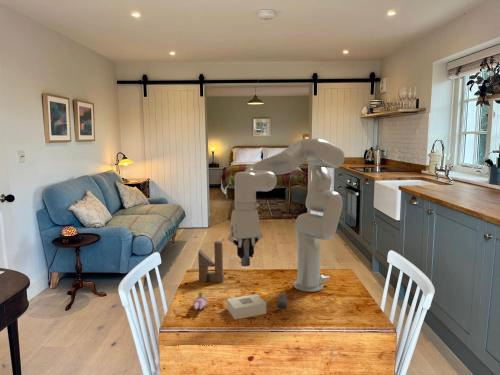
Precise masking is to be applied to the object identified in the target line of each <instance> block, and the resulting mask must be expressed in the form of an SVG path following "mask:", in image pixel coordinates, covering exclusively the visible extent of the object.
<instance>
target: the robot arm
mask: <svg viewBox="0 0 500 375" xmlns="http://www.w3.org/2000/svg"><path fill="white" fill-rule="evenodd" d="M344 161H345V153H344V151H343V149H341V147H338V146H337V145H335V144H333V143H331V142H329V141H327V140H325V139H322V138H302V139H299V140H296V141H295V142H294V143H292V144H291V145H289V146H288V147H287V148H285V149H283V150H282V151H281V152H279V153H277V154H274V155H272V156H269V157H266V158H265V159H261V160H259V161H257V162H255V163H253V164H252V165H250V167H248V168H246V169H245V171H238V172H236V173H235V174H234V209H233V210H232V212H231V217H230V226H229V228H230V229H229V230H230V231H229V232H230V233H229V235H228V237H227V241H228V242H230V243H232V244H234V245H235V246H236V255H237V257H238V258H239V259H240V260H241V259H242V258H243V248H242V239H247V238H250V258H253V257H254V254H255V246H256V244H257V243H258V241H260V240H262V239H263V237H264V235H263V233H262V231H261V225H260V224H261V223H260V216H259V212H258V209H257V207H260V202H257V192H270V191H272V190H273V189H274V188H275V187H276V186H277V183H278V179H277V176H278V175H284V174H288V173H292V172H293V171H294V170H296V169H297V168H298V167H300V166H301V165H302V164H303V163H305V162H307V164H308V166H309V169H310V172H311V180H310V184H309V188H308V191H307V195H306V199H305V207H306V209H307V210H310V211H312V212H316V213H320V214H322V215H319V214H314V213H309V212H308V213H307V212H306V213H301V214H300V215H298V216H297V218H296V220H295V224H294V226H295V228H294V229H295V232H296V238H297V266H296V267H297V270H296V271H297V275H296V276H297V279H296V280H295V281H294V282H293V287H294V289H296V290H299V291H301V292H309V293H311V292H312V293H314V292H319V291H321V290H323V288H324V282H325V281H327V282H328V281H330V280H331V277H330V275H325V276H324V274H321V244H320V240H322V241H329V240H331V239H333V237H334V236H335V234H336V232H337V228H338V225H339V222H340V219H341V218H340V217H341V214H342V211H343V205H344V204H343V197H342V195H341V194H340V193H339V192H338V191H334V190H331V185H332V179H333V178H332V176H331V173H330V171H329V169H338V168H340V167H342V165H344Z"/></svg>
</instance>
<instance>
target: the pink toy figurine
mask: <svg viewBox="0 0 500 375" xmlns="http://www.w3.org/2000/svg"><path fill="white" fill-rule="evenodd" d="M209 301H210V299H207V297H206V295H203V292H202V291H199V292H198V296H197V297H196V300H195V299H192V302H193V305H192V306H193V308H194V310H198V309H199V310H202V309H204V308H205V307H206V306H207V305H208V303H207V302H209Z"/></svg>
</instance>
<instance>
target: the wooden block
mask: <svg viewBox="0 0 500 375" xmlns="http://www.w3.org/2000/svg"><path fill="white" fill-rule="evenodd" d="M213 246H214V247H213V249H214V261H213V260H212V259H211V257H209V256H208V255H207V254H206V253H205V252H204V251H203V250H202V249H201V248H200V249H199V250H198V252H197V253H198V282H199V283H207V282H210V283H223V282H224V280H225V274H224V273H225V272H224V269H223V268H224V267H223V266H224V263H223V262H224V261H223V258H224V257H223V242H222V241H221V240H219V241H218V240H217V241H214V245H213ZM209 267H211V268H214V271H209Z"/></svg>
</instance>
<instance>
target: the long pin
mask: <svg viewBox="0 0 500 375" xmlns="http://www.w3.org/2000/svg"><path fill="white" fill-rule="evenodd" d="M242 248H243V258H242V259H241V258H240V265H241V266H242V267H249V266H250V265H251V257H250V238H247V239H242Z"/></svg>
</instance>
